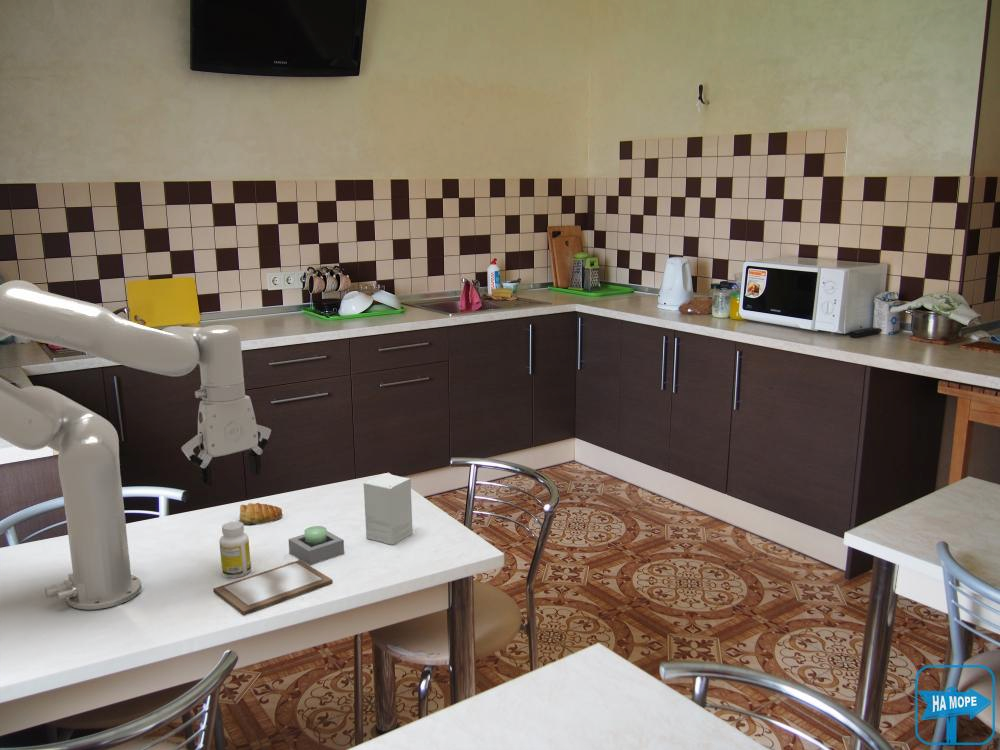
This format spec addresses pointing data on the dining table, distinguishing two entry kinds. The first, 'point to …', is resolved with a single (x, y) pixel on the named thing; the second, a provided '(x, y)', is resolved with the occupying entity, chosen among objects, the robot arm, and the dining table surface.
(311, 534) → the button
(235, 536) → the supplement bottle
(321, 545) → the button housing
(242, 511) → the pastry
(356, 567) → the dining table surface
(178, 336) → the robot arm
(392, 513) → the supplement box
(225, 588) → the board
